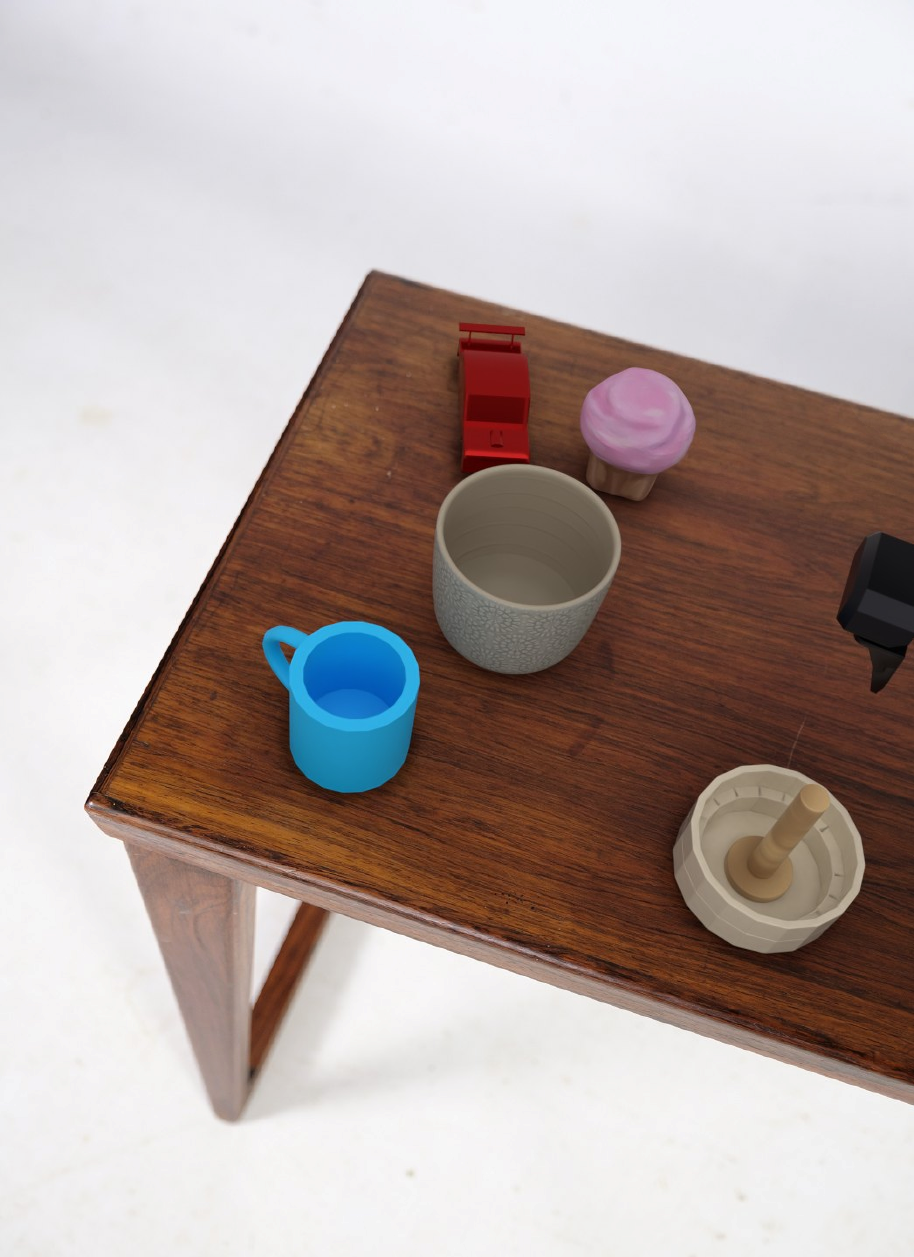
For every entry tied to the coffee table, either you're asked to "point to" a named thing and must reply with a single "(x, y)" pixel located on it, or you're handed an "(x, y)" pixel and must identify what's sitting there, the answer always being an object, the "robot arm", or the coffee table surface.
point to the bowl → (819, 860)
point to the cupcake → (634, 431)
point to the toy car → (493, 398)
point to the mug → (347, 701)
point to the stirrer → (774, 849)
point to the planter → (521, 566)
